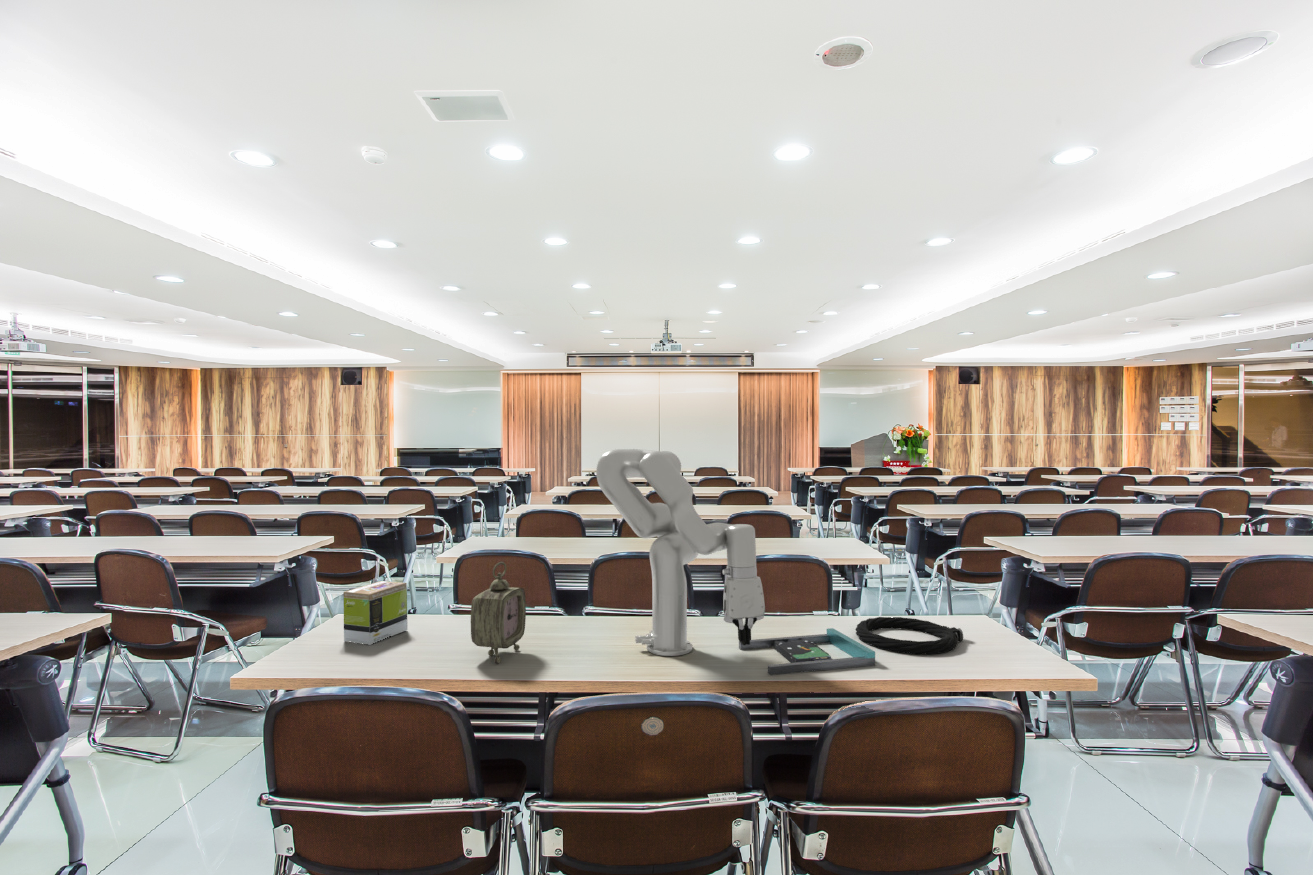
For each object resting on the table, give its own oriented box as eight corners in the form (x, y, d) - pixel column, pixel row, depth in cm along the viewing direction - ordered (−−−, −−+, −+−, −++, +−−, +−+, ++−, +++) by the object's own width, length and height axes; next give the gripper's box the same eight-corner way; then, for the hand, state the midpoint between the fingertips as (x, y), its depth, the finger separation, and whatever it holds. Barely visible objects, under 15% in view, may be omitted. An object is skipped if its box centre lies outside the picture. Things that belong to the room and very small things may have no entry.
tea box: (382, 627, 190) (382, 579, 190) (408, 631, 187) (408, 582, 187) (342, 642, 176) (342, 590, 176) (369, 646, 172) (370, 593, 173)
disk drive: (773, 651, 171) (796, 669, 156) (773, 641, 171) (795, 658, 156) (808, 648, 173) (833, 666, 158) (808, 638, 173) (833, 655, 158)
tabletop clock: (500, 667, 156) (500, 568, 157) (468, 664, 158) (468, 566, 159) (525, 649, 170) (526, 558, 171) (495, 646, 172) (496, 556, 173)
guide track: (770, 675, 151) (770, 660, 151) (738, 647, 171) (738, 635, 172) (875, 665, 158) (875, 651, 158) (832, 640, 178) (832, 628, 178)
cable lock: (843, 614, 193) (940, 615, 193) (843, 627, 193) (940, 627, 193) (873, 642, 166) (985, 643, 165) (873, 657, 166) (985, 657, 165)
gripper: (719, 577, 155) (722, 650, 155) (774, 572, 159) (777, 644, 158) (710, 572, 162) (712, 642, 162) (762, 567, 166) (765, 636, 165)
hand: (744, 643), depth 160 cm, fingers closed
